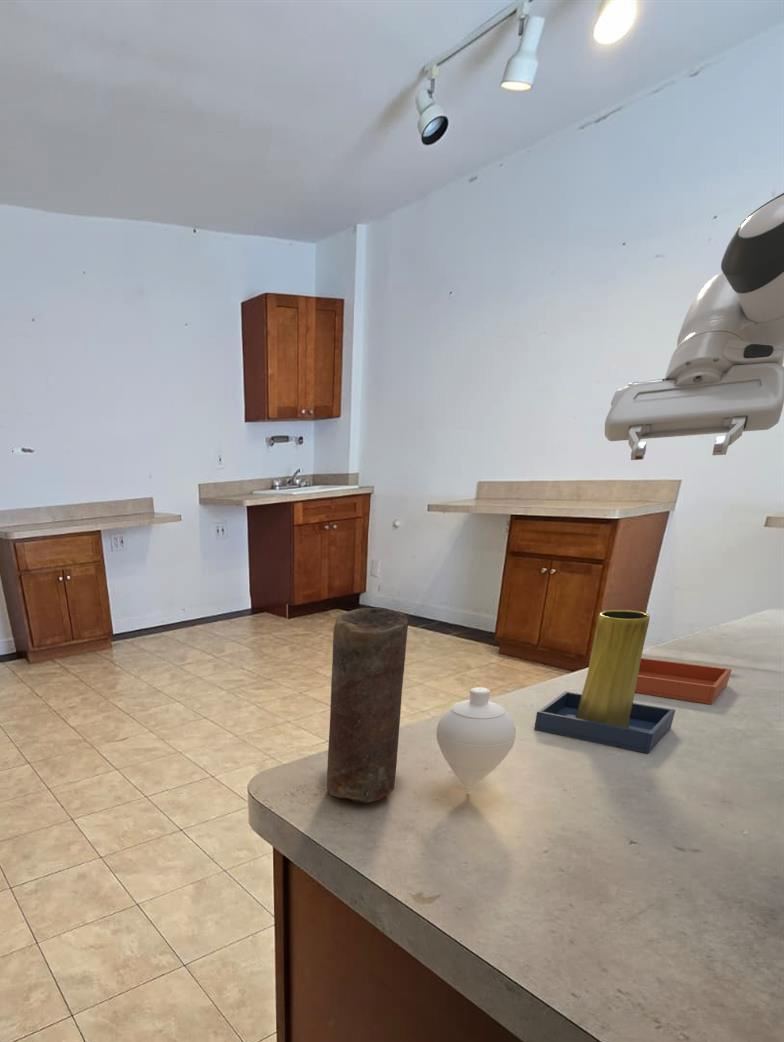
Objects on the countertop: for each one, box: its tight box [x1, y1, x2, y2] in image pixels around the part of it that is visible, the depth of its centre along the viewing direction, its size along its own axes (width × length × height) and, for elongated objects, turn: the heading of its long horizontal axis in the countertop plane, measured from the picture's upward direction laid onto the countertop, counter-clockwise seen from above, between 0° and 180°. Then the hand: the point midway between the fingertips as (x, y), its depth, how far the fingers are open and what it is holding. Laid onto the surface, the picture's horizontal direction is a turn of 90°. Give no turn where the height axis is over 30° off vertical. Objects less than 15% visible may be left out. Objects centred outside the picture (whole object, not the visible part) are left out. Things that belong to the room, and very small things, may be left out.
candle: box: [326, 607, 409, 804], centre depth 67 cm, size 8×7×20 cm
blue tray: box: [534, 691, 676, 754], centre depth 82 cm, size 13×10×2 cm
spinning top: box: [435, 686, 517, 795], centre depth 67 cm, size 8×8×12 cm
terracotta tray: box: [635, 657, 732, 705], centre depth 94 cm, size 13×10×2 cm
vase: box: [575, 609, 651, 728], centre depth 79 cm, size 6×6×14 cm
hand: (676, 454), depth 88 cm, fingers open, 8 cm apart
